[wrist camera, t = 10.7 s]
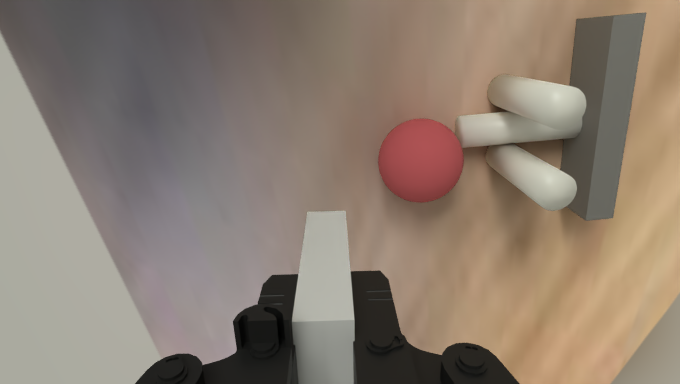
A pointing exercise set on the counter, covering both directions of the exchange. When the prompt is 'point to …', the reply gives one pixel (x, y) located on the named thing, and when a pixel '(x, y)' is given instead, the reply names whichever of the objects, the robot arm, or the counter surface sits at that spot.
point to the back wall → (602, 109)
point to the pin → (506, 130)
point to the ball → (420, 160)
